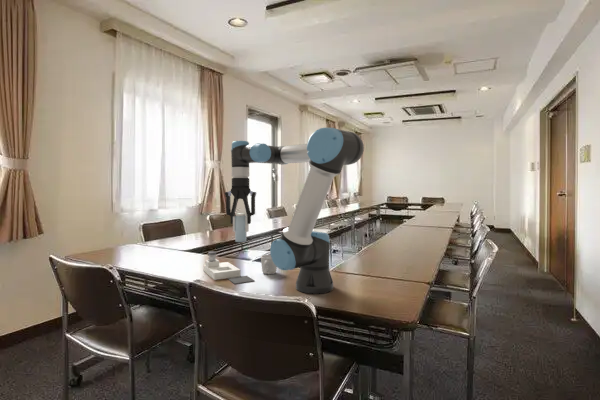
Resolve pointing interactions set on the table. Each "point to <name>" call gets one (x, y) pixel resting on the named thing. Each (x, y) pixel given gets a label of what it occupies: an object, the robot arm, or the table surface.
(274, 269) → the cup
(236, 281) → the pad
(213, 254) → the plunger
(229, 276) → the housing
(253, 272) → the table surface
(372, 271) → the table surface
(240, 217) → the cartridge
